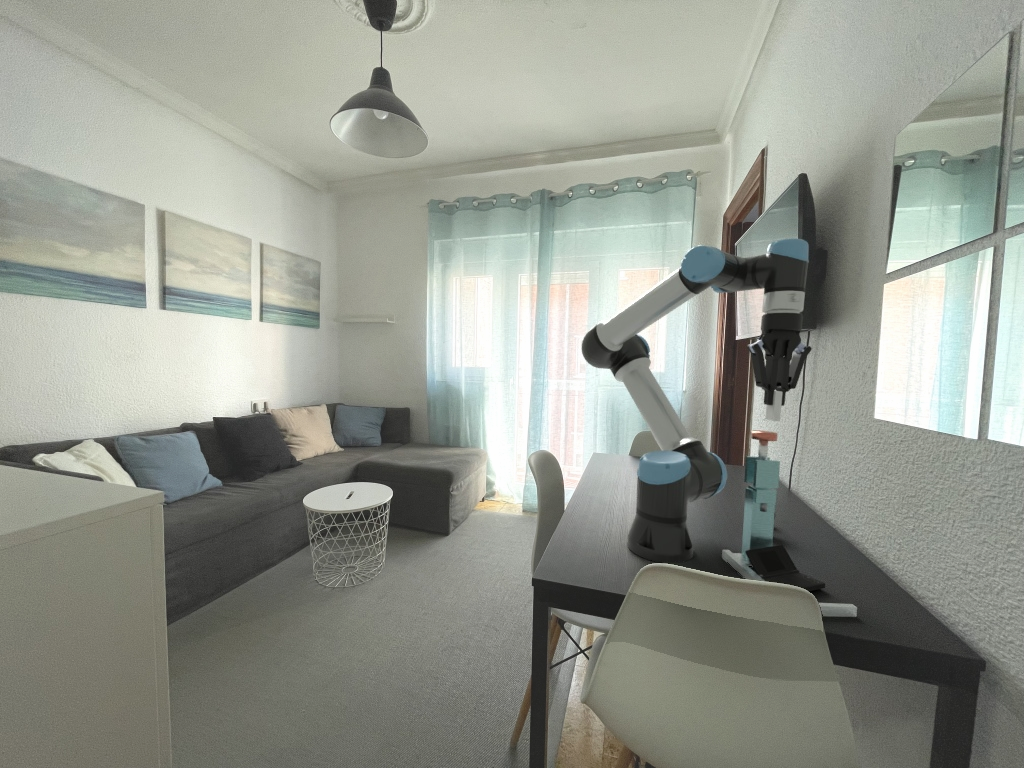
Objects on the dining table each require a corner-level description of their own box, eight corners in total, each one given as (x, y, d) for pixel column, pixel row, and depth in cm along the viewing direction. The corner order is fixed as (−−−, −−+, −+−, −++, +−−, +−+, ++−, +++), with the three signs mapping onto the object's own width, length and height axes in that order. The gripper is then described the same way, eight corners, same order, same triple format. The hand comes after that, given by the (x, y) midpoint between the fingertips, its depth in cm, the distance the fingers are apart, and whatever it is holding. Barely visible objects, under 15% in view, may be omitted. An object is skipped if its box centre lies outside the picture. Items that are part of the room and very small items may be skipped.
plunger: (757, 467, 88) (759, 433, 88) (744, 462, 93) (746, 429, 93) (780, 468, 88) (782, 434, 88) (766, 463, 93) (768, 430, 93)
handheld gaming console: (780, 605, 77) (788, 593, 76) (738, 561, 87) (744, 549, 85) (819, 597, 81) (827, 584, 80) (775, 555, 90) (782, 544, 89)
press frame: (783, 615, 72) (792, 483, 71) (719, 555, 94) (725, 455, 93) (856, 618, 72) (866, 486, 71) (775, 557, 94) (781, 457, 93)
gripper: (763, 310, 84) (753, 421, 85) (825, 312, 84) (814, 424, 85) (742, 313, 91) (734, 416, 93) (799, 316, 91) (790, 418, 93)
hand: (772, 419), depth 89 cm, fingers closed
